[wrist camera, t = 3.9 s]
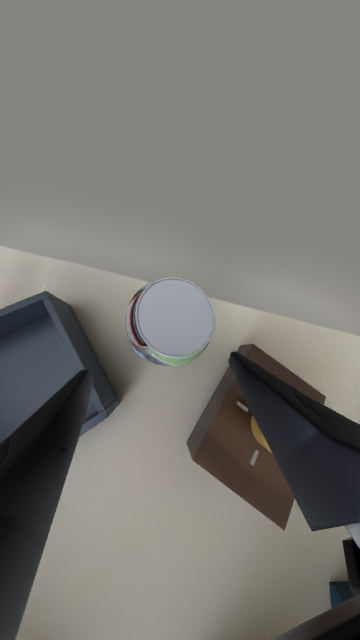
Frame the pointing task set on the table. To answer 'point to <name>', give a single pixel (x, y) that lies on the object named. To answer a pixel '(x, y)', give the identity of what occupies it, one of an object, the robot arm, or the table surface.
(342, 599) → the watch
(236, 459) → the brown dial base
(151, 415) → the table surface
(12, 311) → the dark gray square tray
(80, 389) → the robot arm
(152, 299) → the beverage can
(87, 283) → the table surface
